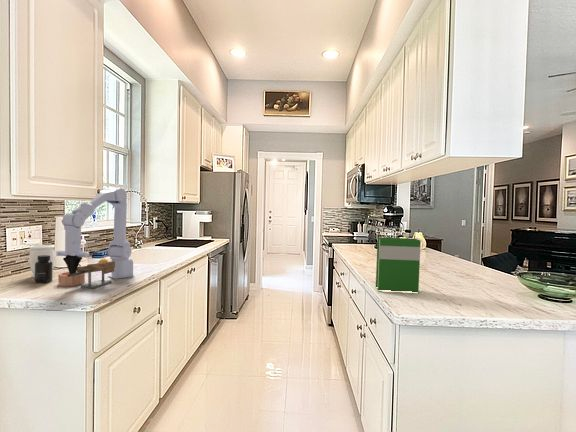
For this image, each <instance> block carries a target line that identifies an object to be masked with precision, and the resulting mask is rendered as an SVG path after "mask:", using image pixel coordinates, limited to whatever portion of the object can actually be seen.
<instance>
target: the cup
mask: <svg viewBox="0 0 576 432" xmlns="http://www.w3.org/2000/svg"><path fill="white" fill-rule="evenodd" d="M76 272H77V271H76ZM67 274H69V271H66V272H65V271H64V272H60V273H59V274H58V275H57V276H58V277H57V278H58V279H57V280H58V283H57V284H58V286H60V287H61V286H62V287H75V286H79V285H80V286H81V285H84V284H85V283H86V273H83V274H80V275H76V276H70V277H68V276H67Z"/></svg>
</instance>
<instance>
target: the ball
mask: <svg viewBox="0 0 576 432" xmlns="http://www.w3.org/2000/svg"><path fill="white" fill-rule="evenodd" d="M108 262H109V260H108V259H106V258H101V259H99V260H98V262H97V263H98V264H104V263H108Z"/></svg>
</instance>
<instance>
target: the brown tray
mask: <svg viewBox="0 0 576 432" xmlns="http://www.w3.org/2000/svg"><path fill="white" fill-rule="evenodd" d="M114 268H115V261H112V260H111V261H108V263H104V264H98V262H97V263H91V264H86V265H84V266H83V265H82V266H78V267H77V272H76V273H73V274H67V276H68V277H70V276H76V275H80V274H83V273H85V274H88V270H91V273H95V272H102V271H103V272H104V275H105V274H106V275H107V274H110V273H111V272H114Z"/></svg>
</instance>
